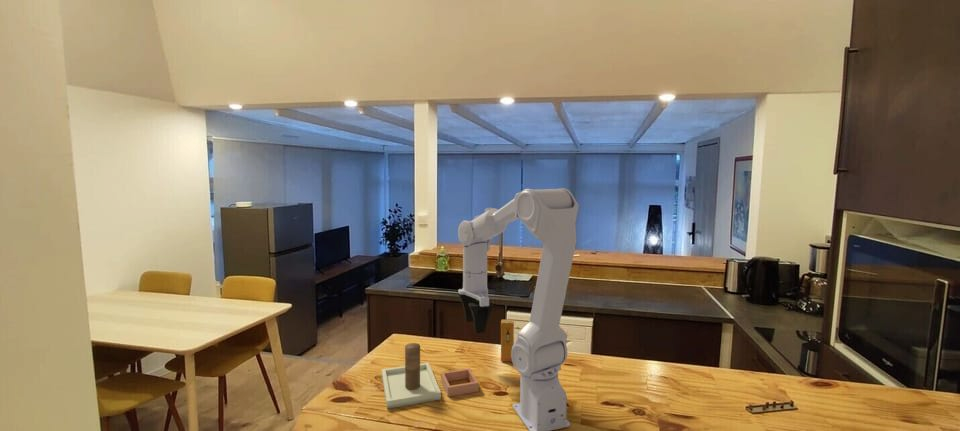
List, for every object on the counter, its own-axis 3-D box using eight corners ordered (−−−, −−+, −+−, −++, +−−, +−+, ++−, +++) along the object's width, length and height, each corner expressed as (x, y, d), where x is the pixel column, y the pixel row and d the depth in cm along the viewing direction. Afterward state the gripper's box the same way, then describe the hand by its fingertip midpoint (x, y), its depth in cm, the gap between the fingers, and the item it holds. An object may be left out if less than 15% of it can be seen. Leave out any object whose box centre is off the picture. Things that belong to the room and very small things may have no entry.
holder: (478, 391, 87) (478, 382, 87) (447, 396, 85) (447, 387, 85) (469, 376, 93) (469, 368, 93) (440, 381, 91) (440, 372, 91)
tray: (441, 399, 84) (440, 392, 84) (387, 408, 80) (386, 401, 80) (428, 368, 97) (428, 362, 97) (381, 375, 94) (381, 369, 94)
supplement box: (513, 356, 104) (514, 318, 103) (513, 362, 100) (514, 323, 99) (501, 355, 104) (501, 318, 103) (500, 362, 101) (500, 323, 100)
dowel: (421, 388, 87) (421, 348, 86) (406, 390, 86) (406, 349, 85) (418, 381, 90) (418, 342, 89) (404, 383, 89) (404, 344, 88)
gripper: (451, 265, 101) (451, 318, 102) (467, 279, 87) (467, 340, 88) (478, 263, 103) (478, 315, 104) (498, 277, 89) (497, 336, 91)
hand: (475, 326), depth 96 cm, fingers open, 7 cm apart
